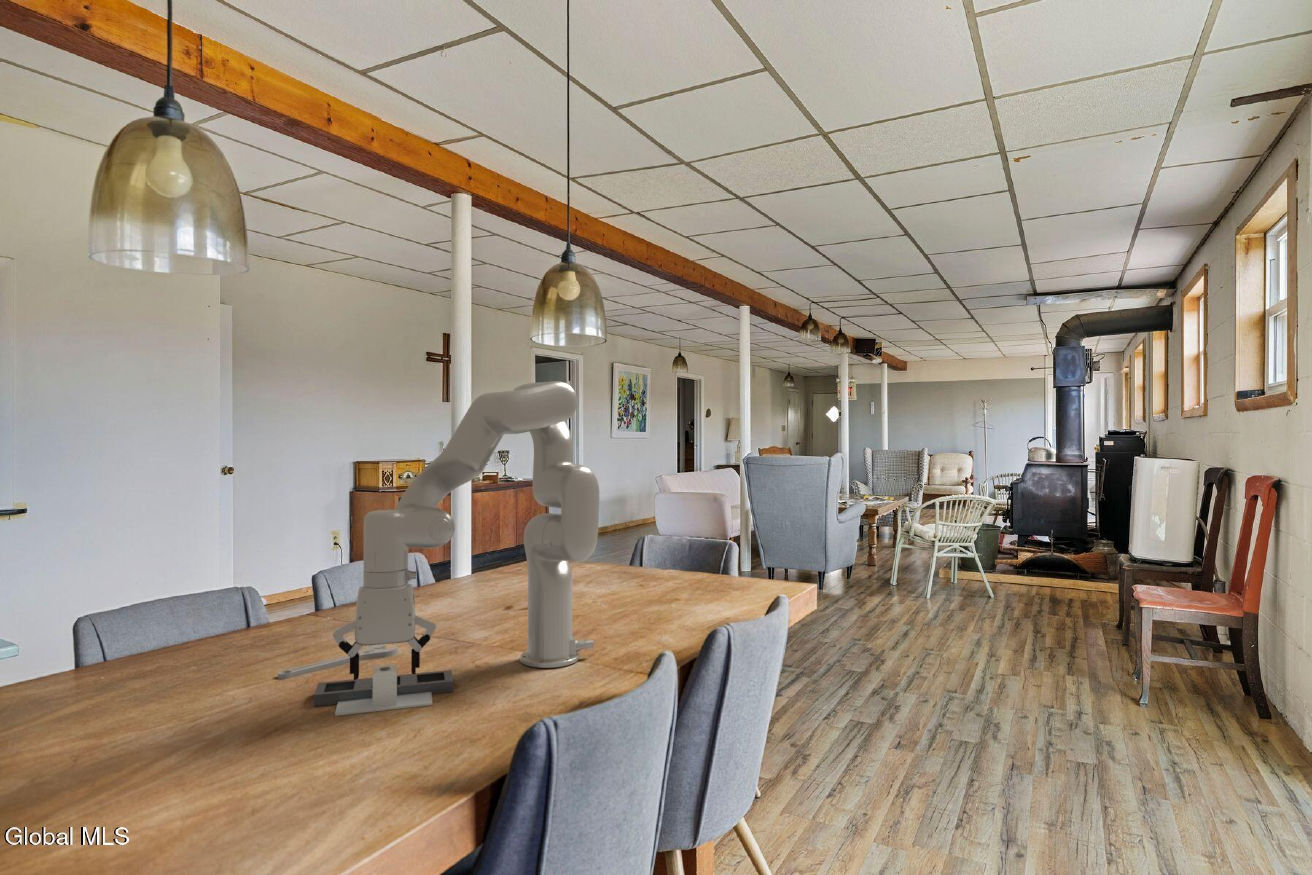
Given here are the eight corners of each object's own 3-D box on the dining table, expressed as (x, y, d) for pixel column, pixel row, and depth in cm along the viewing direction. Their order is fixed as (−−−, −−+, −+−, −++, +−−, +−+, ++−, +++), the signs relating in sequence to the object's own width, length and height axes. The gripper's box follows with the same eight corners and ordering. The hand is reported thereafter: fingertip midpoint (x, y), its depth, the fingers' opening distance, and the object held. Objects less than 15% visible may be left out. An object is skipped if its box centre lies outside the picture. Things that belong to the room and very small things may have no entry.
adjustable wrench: (281, 683, 143) (281, 674, 143) (269, 675, 147) (269, 667, 147) (401, 655, 161) (401, 647, 161) (388, 649, 165) (387, 641, 165)
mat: (431, 693, 135) (431, 691, 135) (432, 704, 129) (432, 702, 129) (338, 703, 130) (338, 701, 130) (334, 715, 124) (334, 713, 124)
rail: (451, 679, 143) (451, 669, 143) (453, 691, 136) (453, 680, 136) (318, 693, 135) (318, 682, 135) (313, 706, 128) (313, 695, 128)
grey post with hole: (396, 697, 132) (397, 663, 132) (396, 704, 128) (396, 670, 128) (373, 699, 131) (373, 665, 131) (372, 707, 127) (372, 672, 127)
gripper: (435, 573, 136) (434, 663, 136) (335, 578, 130) (334, 673, 130) (436, 580, 129) (436, 676, 129) (331, 586, 123) (330, 686, 123)
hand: (385, 674), depth 129 cm, fingers open, 9 cm apart
